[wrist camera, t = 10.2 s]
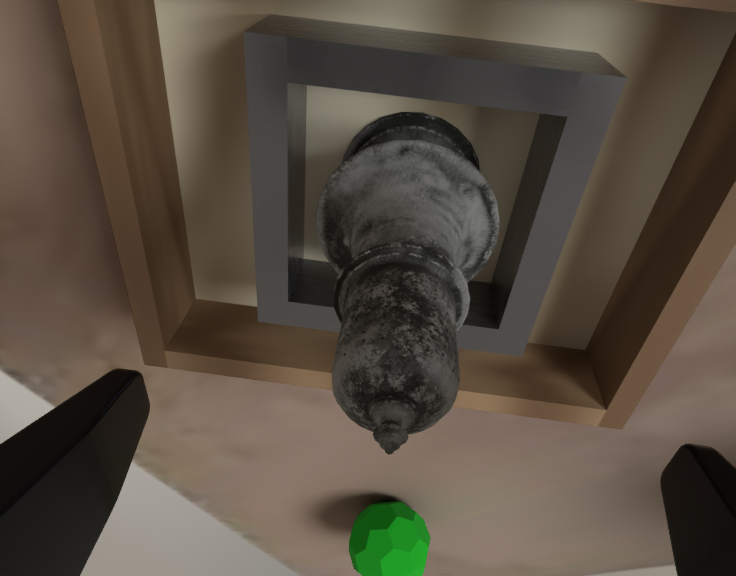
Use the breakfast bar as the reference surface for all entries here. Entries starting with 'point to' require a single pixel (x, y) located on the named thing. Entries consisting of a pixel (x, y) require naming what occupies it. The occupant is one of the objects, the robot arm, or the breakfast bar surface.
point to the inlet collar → (431, 82)
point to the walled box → (497, 163)
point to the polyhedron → (389, 541)
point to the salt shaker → (403, 268)
